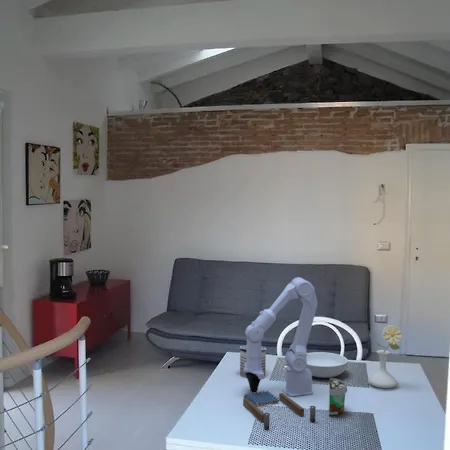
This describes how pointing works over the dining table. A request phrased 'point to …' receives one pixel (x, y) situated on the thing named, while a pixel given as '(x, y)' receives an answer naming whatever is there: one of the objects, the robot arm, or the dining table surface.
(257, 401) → the woven mat
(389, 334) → the flower in vase
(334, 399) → the food container
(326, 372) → the serving bowl
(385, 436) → the dining table surface
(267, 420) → the posts
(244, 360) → the can
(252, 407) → the walled channel
